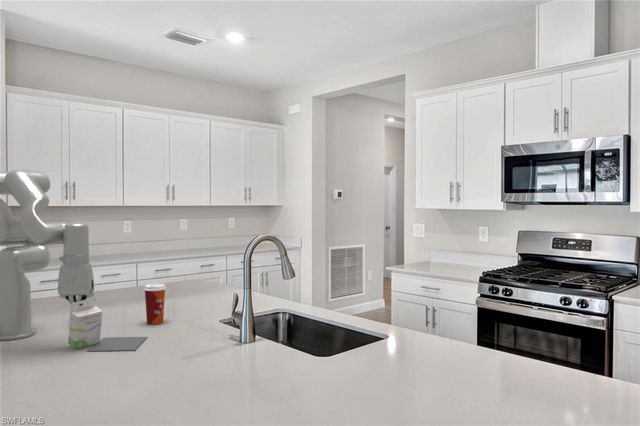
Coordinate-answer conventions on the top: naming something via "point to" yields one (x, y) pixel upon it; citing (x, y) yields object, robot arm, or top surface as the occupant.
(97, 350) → the mat
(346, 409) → the top surface
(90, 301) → the ink box
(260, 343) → the top surface
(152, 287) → the coffee cup
